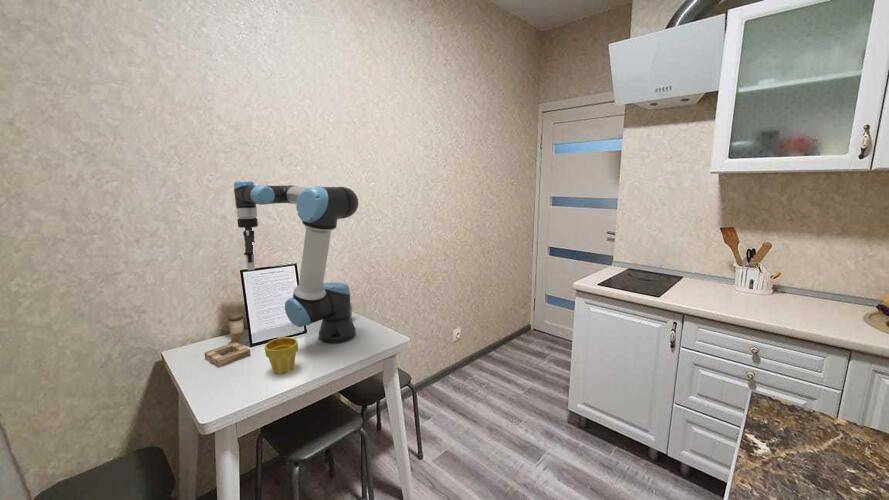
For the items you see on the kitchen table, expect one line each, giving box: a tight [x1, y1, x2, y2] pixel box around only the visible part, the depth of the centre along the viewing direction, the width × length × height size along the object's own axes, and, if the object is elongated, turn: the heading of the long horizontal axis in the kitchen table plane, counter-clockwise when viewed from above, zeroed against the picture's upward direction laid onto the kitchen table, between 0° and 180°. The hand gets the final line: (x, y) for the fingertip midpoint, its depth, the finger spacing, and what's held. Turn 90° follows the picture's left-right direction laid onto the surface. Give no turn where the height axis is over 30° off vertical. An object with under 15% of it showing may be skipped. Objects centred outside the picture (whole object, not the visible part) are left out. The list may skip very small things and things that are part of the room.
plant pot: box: [264, 336, 299, 375], centre depth 125 cm, size 10×10×10 cm
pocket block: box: [203, 342, 251, 368], centre depth 134 cm, size 11×11×2 cm
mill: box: [227, 311, 246, 344], centre depth 145 cm, size 5×5×12 cm
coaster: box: [227, 338, 249, 346], centre depth 146 cm, size 7×7×1 cm
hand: (252, 266), depth 156 cm, fingers open, 13 cm apart
